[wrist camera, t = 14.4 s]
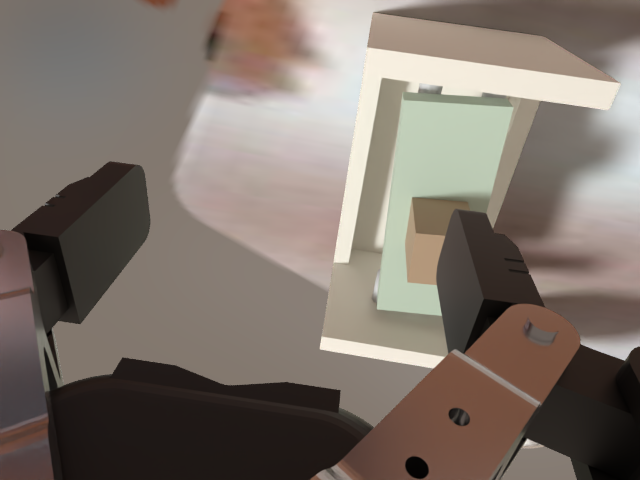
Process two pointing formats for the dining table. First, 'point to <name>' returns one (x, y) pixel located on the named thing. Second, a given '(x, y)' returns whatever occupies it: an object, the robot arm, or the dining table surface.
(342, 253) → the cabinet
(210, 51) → the dining table surface
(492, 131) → the shelf board
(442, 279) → the robot arm
